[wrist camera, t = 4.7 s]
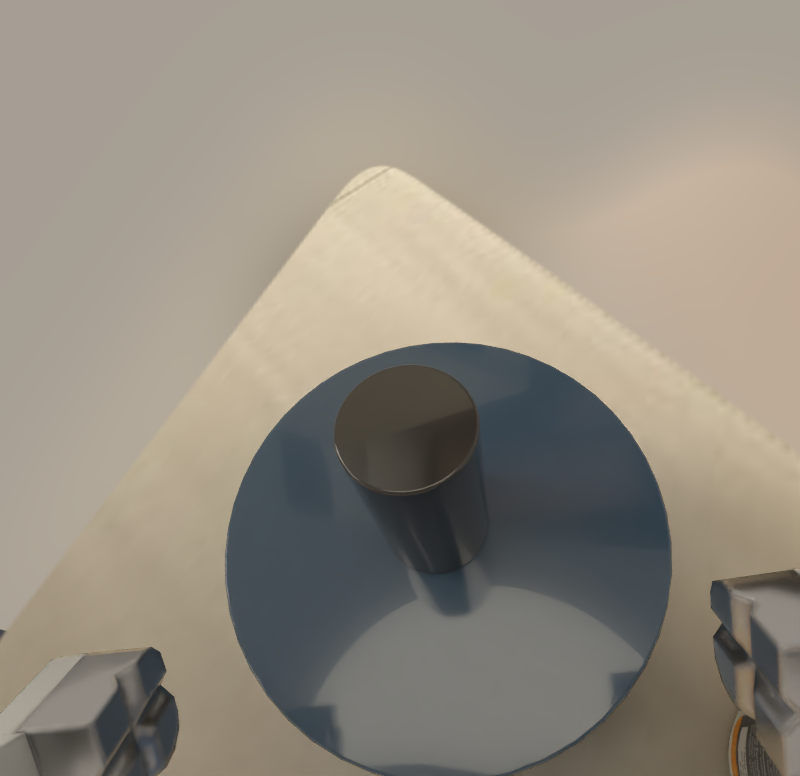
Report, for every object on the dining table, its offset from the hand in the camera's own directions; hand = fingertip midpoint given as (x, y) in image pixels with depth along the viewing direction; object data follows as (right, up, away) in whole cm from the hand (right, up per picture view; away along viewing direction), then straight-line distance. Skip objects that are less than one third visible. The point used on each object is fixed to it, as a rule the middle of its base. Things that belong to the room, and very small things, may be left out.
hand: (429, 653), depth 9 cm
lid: (+1, 0, +6) cm, 6 cm away
